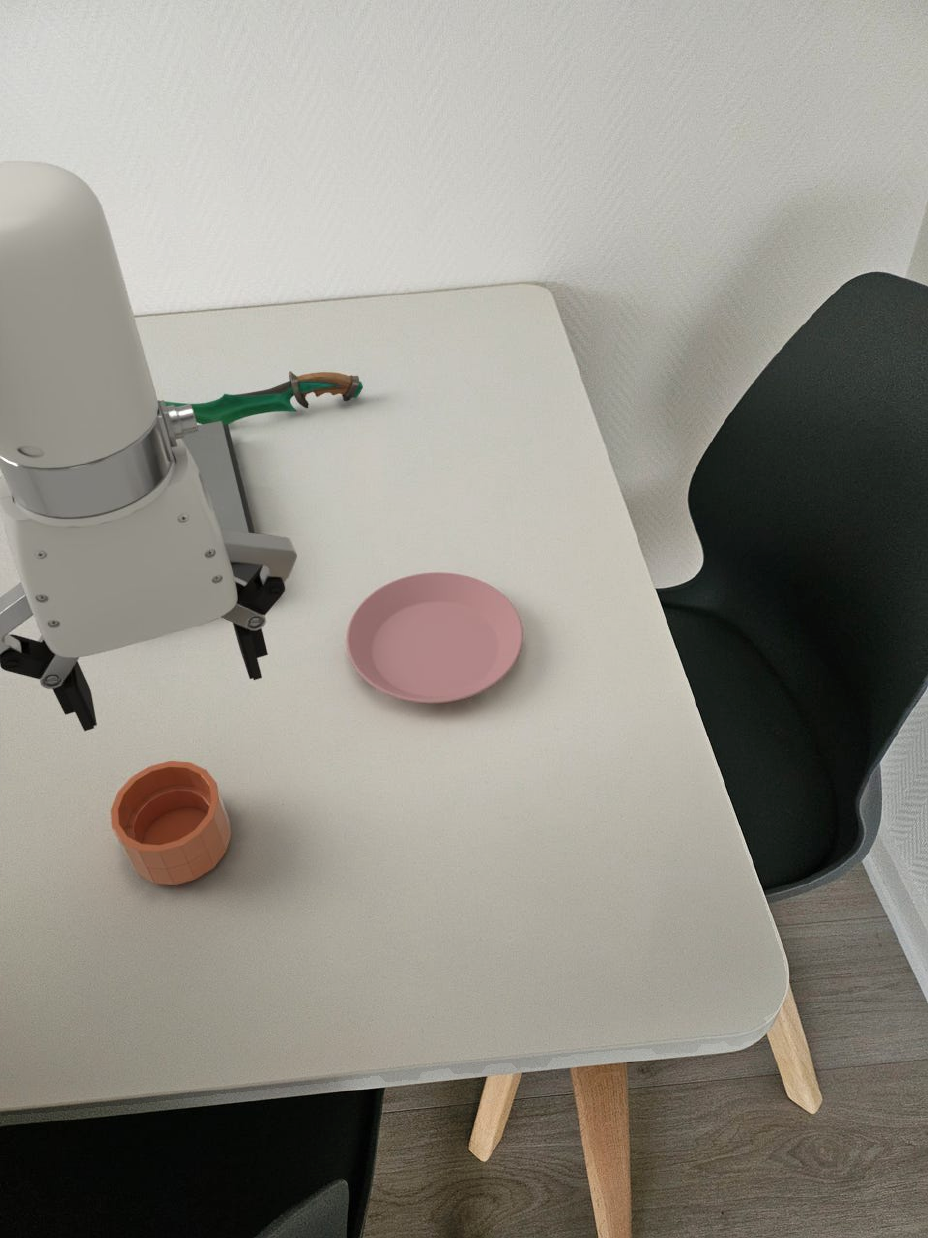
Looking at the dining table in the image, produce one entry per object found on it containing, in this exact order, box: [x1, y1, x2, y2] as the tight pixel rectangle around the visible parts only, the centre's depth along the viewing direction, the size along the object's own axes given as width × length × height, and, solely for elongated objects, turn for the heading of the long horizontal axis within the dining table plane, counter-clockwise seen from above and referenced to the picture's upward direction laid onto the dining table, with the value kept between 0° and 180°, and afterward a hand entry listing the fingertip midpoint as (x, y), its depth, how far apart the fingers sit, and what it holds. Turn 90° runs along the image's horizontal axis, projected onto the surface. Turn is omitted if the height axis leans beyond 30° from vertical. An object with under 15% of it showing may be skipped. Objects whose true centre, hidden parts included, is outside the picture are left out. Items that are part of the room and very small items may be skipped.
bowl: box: [110, 760, 232, 886], centre depth 67 cm, size 7×7×5 cm
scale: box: [181, 421, 263, 583], centre depth 91 cm, size 14×24×3 cm, turn 17°
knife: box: [157, 371, 364, 426], centre depth 102 cm, size 21×2×5 cm, turn 108°
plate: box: [346, 571, 524, 704], centre depth 80 cm, size 14×14×2 cm
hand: (171, 687), depth 58 cm, fingers open, 9 cm apart
